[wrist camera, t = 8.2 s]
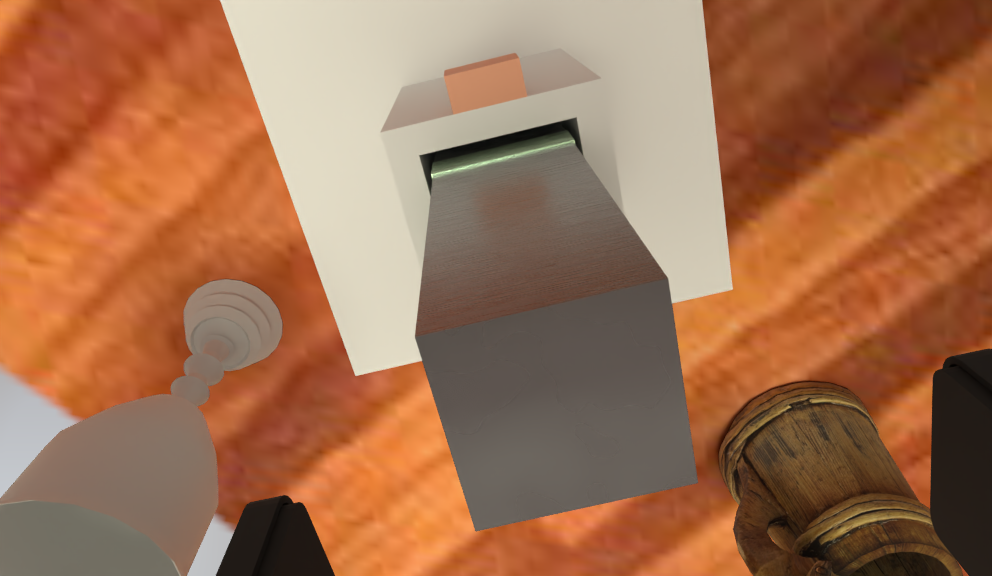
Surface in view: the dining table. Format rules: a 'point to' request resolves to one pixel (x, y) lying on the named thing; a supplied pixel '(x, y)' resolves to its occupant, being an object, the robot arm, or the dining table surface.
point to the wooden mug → (824, 491)
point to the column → (546, 334)
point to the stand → (477, 130)
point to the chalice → (138, 461)
